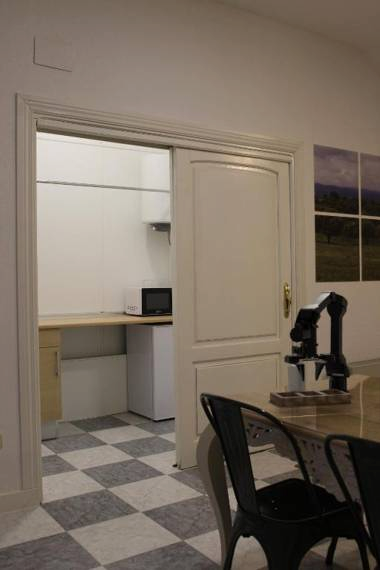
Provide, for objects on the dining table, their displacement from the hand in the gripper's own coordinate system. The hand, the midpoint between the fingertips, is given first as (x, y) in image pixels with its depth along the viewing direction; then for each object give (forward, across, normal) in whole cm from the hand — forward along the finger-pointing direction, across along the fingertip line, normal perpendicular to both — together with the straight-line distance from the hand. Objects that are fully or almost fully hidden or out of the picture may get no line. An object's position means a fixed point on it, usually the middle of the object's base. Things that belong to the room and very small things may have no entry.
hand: (309, 380), depth 223 cm
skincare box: (+8, 0, -13) cm, 15 cm away
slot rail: (+8, 0, 0) cm, 8 cm away
